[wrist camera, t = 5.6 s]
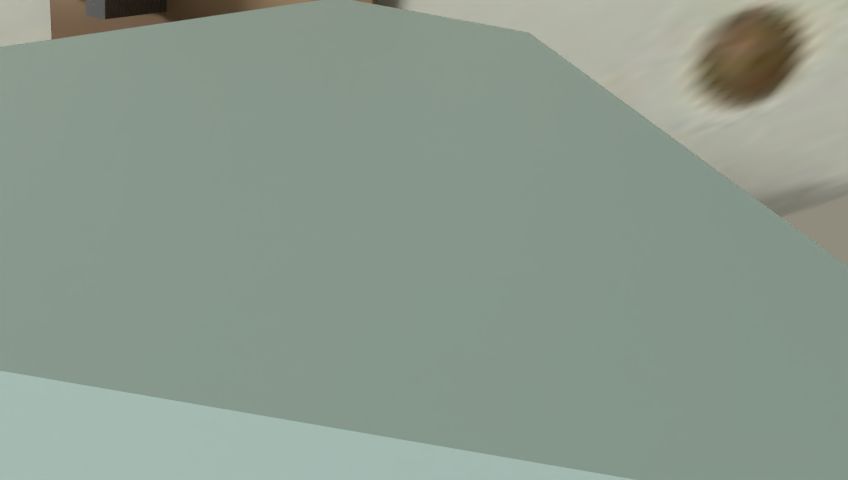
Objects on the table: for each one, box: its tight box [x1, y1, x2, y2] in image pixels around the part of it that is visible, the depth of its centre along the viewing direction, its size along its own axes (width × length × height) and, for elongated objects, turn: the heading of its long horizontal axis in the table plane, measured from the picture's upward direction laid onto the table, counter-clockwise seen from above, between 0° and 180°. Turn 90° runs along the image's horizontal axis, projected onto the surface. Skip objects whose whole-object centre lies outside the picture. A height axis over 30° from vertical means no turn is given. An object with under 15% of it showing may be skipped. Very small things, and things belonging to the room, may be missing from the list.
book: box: [0, 0, 848, 480], centre depth 10 cm, size 12×4×15 cm, turn 170°
